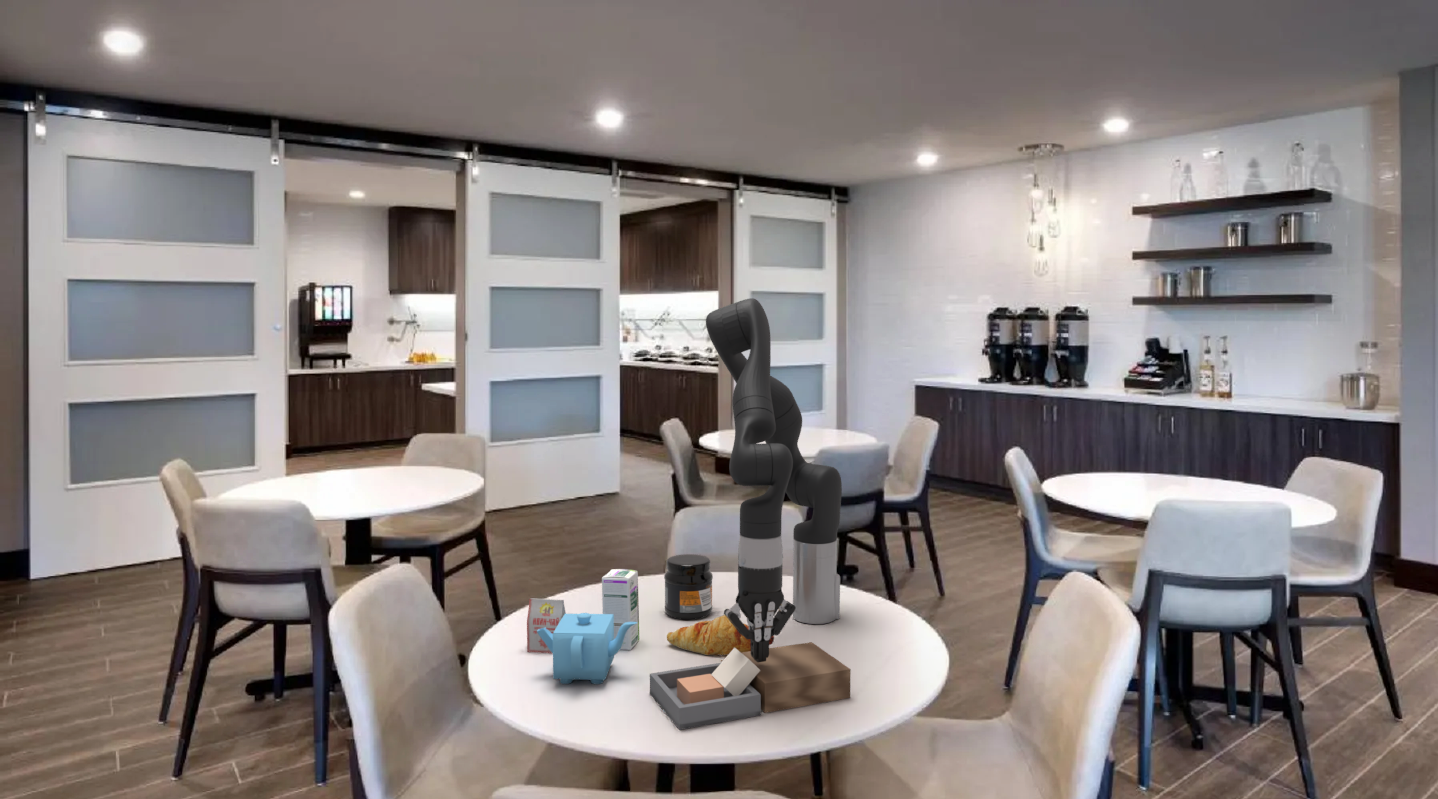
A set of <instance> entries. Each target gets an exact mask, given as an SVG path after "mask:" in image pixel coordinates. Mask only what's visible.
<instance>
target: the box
mask: <svg viewBox="0 0 1438 799" xmlns="http://www.w3.org/2000/svg"><path fill="white" fill-rule="evenodd" d="M721 663H722V662H716V663H711V664H704V665H698V666H691V667H685V668H678V669H670V670H666V671H665V670H664V671H658V672H651V673H649V695H651V697H652V698H653V700H654V701H655V702H656V703H657V704H658V706H659V707H660V708H661V709H662V711H663V712H664V713H665V714H666V716H667V717H668V718H669V719H670V720H671V722H672V723H673V724H674V725H675V726H676V728H678V730H680V731H682V730H686V729H691V728H698V727H703V726H708V725H715V724H719V723H724V722H731V721H736V720H741V719H748V718H754V717H758V716H761V714H762V713H761V711H762V710H761V694H760V693H759V692H757V691H756V690H755V689H754V688H753V687H752V686H751V685H750V684H748V686H747V687H746V688H745V689H744V690H743V691H742V693H741V694H740V695H738V696H733V695H732V694H731V693H730V692H729V691H728V690H727V689H726V688H725V687H724V698H720V699H714V700H708V701H702V702H697V703H691V704H685V705H684V703H683V702H682V701H681V700H680V699H679V698H678V697H677V679H680V678H686V677H692V676H699V675H705V674H712V673H713V672H714V671H715V670H716V668H717V667H718V666H719V665H720V664H721Z"/></svg>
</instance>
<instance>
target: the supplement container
mask: <svg viewBox="0 0 1438 799" xmlns="http://www.w3.org/2000/svg"><path fill="white" fill-rule="evenodd" d="M710 569H711V559H710V558H709V557H707V556H705V555H701V554H694V553H693V554H690V553H686V554H685V553H684V554H677V555H676V554H675V555H672V556H669V557H668V558H666V570H667V571H666V572H665V573H664V576H663V577H664V578H663V579H664V611H665V613H666V614H667V615H668V616H669V617H671V618H672V619H673V618H674V619H677V620H683V621H685V620H687V621H693V620H694V621H695V620H699V619H703V618H706V617H707V616H709V615H710V614H712V611H713V579H714V578H713V573H712V571H711V570H710Z"/></svg>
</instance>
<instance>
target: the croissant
mask: <svg viewBox="0 0 1438 799" xmlns="http://www.w3.org/2000/svg"><path fill="white" fill-rule="evenodd" d="M742 623H743V624H744V625H745V626H746V628H747V629H748V630H749V625H748V624H746V623H744V622H742ZM774 640H775V635H774V636H772V637H771V638H770V639H769V646H770V645H772V644H774ZM666 641H667V642H669V643H670V644H671V645H673V646H674V647H677V648H680V649H681V650H682V649H683V650H686V651H688V652H693V653H697V654H699V655H700V654H701V655H706V656H709V655H710V656H715V655H716V656H728V654H729V653H730V652H731V651H732V650H733V649H734V648H736V649H737V650H738V651H740V652H741V653H742V652H749V651H751V640H750V639H749V640H748V639H746V638H745V637H744V636H742V635H741V634H740V633H739V632H738V631H737V629H736V628H735V627H734V626H733V624H732V623H731V622H730V621H729V619H728V618H727V617H726V616H725V615H724V614H723V615H721V616H717V617H715V618H714V619H713V620H702V621H698V622H696V623H694V624H693V625H689V626H682V627H680V628H677V629H676V630H675V631H671V632H670V631H669V632H668V633H667V634H666Z"/></svg>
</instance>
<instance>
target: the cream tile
mask: <svg viewBox="0 0 1438 799" xmlns="http://www.w3.org/2000/svg"><path fill="white" fill-rule="evenodd" d="M720 663H721V664H720V665H719V666H718V667H717V668H716V670H715V671H714V672H713V673H712V674H711V675H712V676H713V677H714V678H715V679H716V680H717V681H718V682H719V683H720V684H721V685H723V686H724V687H725V688H726V689H727V690H728V691H729V692H730V693H731V694H732V695H733V696H738V695H740V694H741V693H742V691H743V690H744V689H745V688H746V687H747V686H748V684H749V683H750V682H751V681H752V680H753V678H754V677H755V676H756V675H757V674H758V673H759V671H760V669H759V668H758V667H757V666H755V665H754V664H753V663H752V662H751V661H750V660H749V659H748V658H747V657H746V656H744V655H743V654H742V653H741V652H740V651H738V650H737V649H736V648H734V649H733V650H732V651H731V652H730V653H729V654H728V655H726V657H725V658H724V659H723V660H722V661H721V662H720Z"/></svg>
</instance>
